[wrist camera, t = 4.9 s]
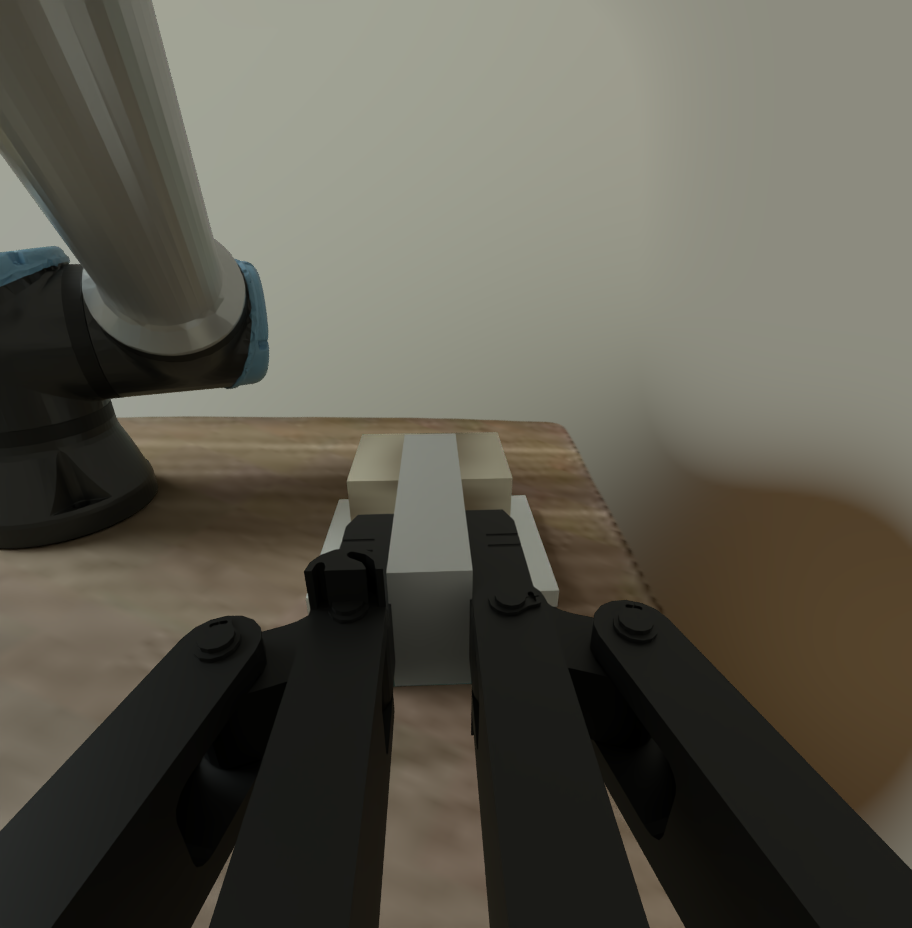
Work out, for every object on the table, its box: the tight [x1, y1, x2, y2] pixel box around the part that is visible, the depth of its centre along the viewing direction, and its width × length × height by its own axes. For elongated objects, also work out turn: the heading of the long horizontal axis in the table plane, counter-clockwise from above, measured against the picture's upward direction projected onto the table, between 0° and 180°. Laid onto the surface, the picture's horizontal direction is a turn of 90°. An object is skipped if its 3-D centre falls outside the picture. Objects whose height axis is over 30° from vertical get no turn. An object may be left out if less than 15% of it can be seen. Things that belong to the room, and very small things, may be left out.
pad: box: [306, 495, 559, 615], centre depth 41 cm, size 18×14×2 cm
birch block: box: [347, 432, 512, 687], centre depth 29 cm, size 8×6×14 cm
